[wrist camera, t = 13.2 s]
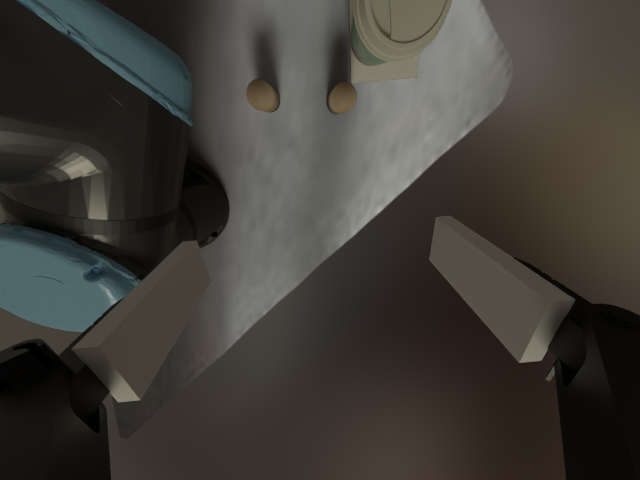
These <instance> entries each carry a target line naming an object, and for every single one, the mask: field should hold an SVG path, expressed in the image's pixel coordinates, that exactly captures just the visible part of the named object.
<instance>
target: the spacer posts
mask: <svg viewBox="0 0 640 480" xmlns="http://www.w3.org/2000/svg"><path fill="white" fill-rule="evenodd" d="M247 99H248V101H249V103H250V104H251V105H252V106H253V107H254V108H255V109H257V110H261V111H266V112H274V111H276V110H277V109H278V107H279V105H280V97H279V94H278V93H277V91H276V90H275V89H274V88H272V87H271V86H270V85H269V84H268V83H267V82H266V81H264V80H261V79H256V80H253V81H252V82H251V83H250V84H249V85H248V87H247ZM356 100H357V93H356V90H355V88H354V86H353V85H352V84H350V83H348V82H341V83H339V84H337V85H336V86H335V87H334V89H333V90H332V91H331V92H330V94H329V95H328V97H327V107H328V109H329V110H330V111H331V112H332V113H334V114H340V113H344V112H348V111H350V110H351V109H352V108H353V107H354V106H355V104H356Z"/></svg>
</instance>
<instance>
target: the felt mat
mask: <svg viewBox="0 0 640 480" xmlns="http://www.w3.org/2000/svg"><path fill="white" fill-rule="evenodd" d="M353 4H354V0H349V12H350V66H351V84H354V83H365V82H375V81H386V80H396V79H407V78H416V77H417V69H418V58H419V54H418V55H416V56H415V57H413V58H411V59H408V60H405V61H402V62H386V63H383V64H379V65H376V66H367V65H364V64H362V63H360V62H359V61H358V60H357V59H356V57H355V56H354V54H353V51H352V48H351V30H352V24H353V18H354V8H353Z"/></svg>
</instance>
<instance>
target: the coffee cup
mask: <svg viewBox="0 0 640 480" xmlns="http://www.w3.org/2000/svg"><path fill="white" fill-rule="evenodd" d="M451 3H452V0H354V4H353V8H354V18H353V24H352V30H351V48H352V51H353V54H354V56H355V57H356V59H357V60H358V61H359V62H360V63H362V64H364V65H367V66H376V65H379V64H383V63H386V62H402V61H405V60H408V59H411V58H413V57H415V56H416V55H418V54H419V53H421V52H422V51H423V50H424V49H425V48H426V47H427V46H428V45H429V44H430V43H431V41H432V40H433V39H434V38H435V36H436V35H437V34H438V32H439V30H440V29H441V27H442V25H443V23H444V21H445V19H446V16H447V13H448V11H449V8H450V6H451Z"/></svg>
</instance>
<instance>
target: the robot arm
mask: <svg viewBox="0 0 640 480" xmlns="http://www.w3.org/2000/svg"><path fill="white" fill-rule="evenodd" d="M192 94H193V80H192V76H191V73H190V71H189V69H188V67H187V66H186V64H185V63H184V62H183V60H182V59H181V58H180V57H179V56H178V55H177V54H176V53H175V52H173V51H172V50H171V49H170V48H168V47H167V46H165V45H164V44H163V43H161V42H160V41H158V40H157V39H155V38H154V37H153V36H151V35H150V34H148V33H146V32H145V31H143V30H142V29H140V28H139V27H137V26H136V25H134V24H133V23H131V22H130V21H128V20H127V19H125V18H123V17H122V16H120V15H119V14H117V13H116V12H114V11H112V10H111V9H109V8H108V7H106V6H104V5H103V4H101V3H100V2H98V1H96V0H0V203H1V208H2V212H3V220H2V222H1V223H0V307H1V308H3V309H5V310H7V311H9V312H11V313H13V314H15V315H17V316H19V317H21V318H24V319H26V320H29V321H31V322H34V323H37V324H40V325H44V326H48V327H51V328H56V329H60V330H67V331H75V332H76V331H77V332H83V333H82V334H81V335H80V336H79V337H78V338H77V339H76V340H75V341H74V342H72V343H71V344H70V345H69V346H68V347H67V348H66V349H65V350H64V351H63V352H62V353H61V354H60V355H59V356H58V355H57V354H56V353H55V352H54V351H53V350H52V349H51V348H50V347H49V346H48V345H47V344H46V343H45V342H44V341H43V340H41V339H32V340H26V341H24V342H21V343H18V344H16V345H13V346H11V347H9V348H7V349H5V350H3V351H1V352H0V480H111V471H110V456H109V441H108V426H107V411H106V408H105V406H104V404H103V403H102V401H103V400H104V399H105V397H106V396H107V395H108V393H109V392H110V393H111V395H112V396H113V397H114V398H115V399H116V400H117V401H118V402H126V401H136V400H141V398H142V397H143V395H144V393H145V392H146V390H147V388H148V387H149V385H150V383H151V382H152V380H153V378H154V377H155V375H156V373H157V372H158V370H159V368H160V367H161V365H162V363H163V362H164V360H165V358H166V357H167V355H168V353H169V352H170V350H171V348H172V347H173V345H174V343H175V342H176V340H177V338H178V337H179V335H180V333H181V332H182V330H183V328H184V327H185V325H186V323H187V322H188V320H189V318H190V316H191V315H192V313H193V311H194V310H195V308H196V306H197V305H198V303H199V301H200V300H201V298H202V296H203V295H204V293H205V291H206V290H207V288H208V286H209V285H210V283H211V281H212V280H211V277H210V275H209V272H208V269H207V267H206V264H205V261H204V259H203V256H202V253H201V251H200V248H202V247H204V246H207V245H208V244H210V243H212V242H213V241H214V240H215V239H216V238H217V237H218V236H219V235H220V234H221V232H222V231H223V230H224V228H225V227H226V224H227V222H228V218H229V203H228V199H227V196H226V194H225V192H224V190H223V188H222V186H221V185H220V183H219V182H218V181H217V179H216V178H215V177H214V176H213V175H212V174H211V173H210V172H209V171H207V170H206V169H205V168H203V167H202V166H200V165H199V164H197V163H195V162H193V161H190V160H188V159H186V154H187V147H188V140H189V133H190V126H193V121H192V119H191V107H192ZM429 260H430V261H431V262H432V263H433V265H434V266H435V267H436V268H437V269H438V270H439V271H440V273H441V274H442V275H443V276H444V277H445V278H446V279H447V281H448V282H449V283H450V284H451V285H452V286H453V287H454V289H455V290H456V291H457V292H458V293H459V294H460V295H461V297H462V298H463V299H464V300H465V301H466V302H467V303H468V305H469V306H470V307H471V308H472V309H473V310H474V311H475V313H476V314H477V315H478V316H479V317H480V318H481V320H482V321H483V322H484V323H485V324H486V325H487V326H488V327H489V329H490V330H491V331H492V332H493V333H494V334H495V336H496V337H497V338H498V339H499V340H500V341H501V342H502V343H503V345H504V346H505V347H506V348H507V349H508V350H509V351H510V353H511V354H512V355H513V356H514V357H515V358H516V360H517V361H518V362H519V363H522V362H532V361H541V360H542V359H543V357H544V355H545V353H546V351H547V350H548V349H550V350H551V351H552V352H553V353H554V354H555V355H556V356H557V359H556V360H555V362H554V364H553V365H552V367H551V369H550V370H549V372H548V374H547V376H546V380H549V381H550V380H551V379H552V377H553V376H555V379H556V389H557V398H558V408H559V417H560V427H561V435H562V445H563V455H564V464H565V474H566V480H640V315H638V314H635V313H633V312H631V311H629V310H626V309H623V308H620V307H617V306H613V305H608V304H592V303H590V302H589V301H587V300H585V299H584V298H582V297H581V296H579V295H577V294H576V293H575V292H573V291H571V290H570V289H568V288H567V287H565V286H564V285H562V284H560V283H559V282H557V281H556V280H552V278H551V277H550V276H548V275H547V274H545V273H542V272H541V271H540V270H539V269H537V268H536V267H534V266H532V265H531V264H529V263H527V262H525V261H522V260H519V259H517V258H515V257H514V258H512V257H511V256H509V255H508V254H506V253H505V252H503V251H502V250H500V249H499V248H497V247H496V246H494V245H493V244H491V243H490V242H488V241H487V240H485V239H484V238H482V237H481V236H479V235H478V234H476V233H475V232H473V231H472V230H470V229H469V228H467V227H466V226H464V225H463V224H461V223H460V222H458V221H457V220H455V219H454V218H452V217H451V216H444V217H436V222H435V228H434V234H433V240H432V246H431V253H430V259H429Z"/></svg>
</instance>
